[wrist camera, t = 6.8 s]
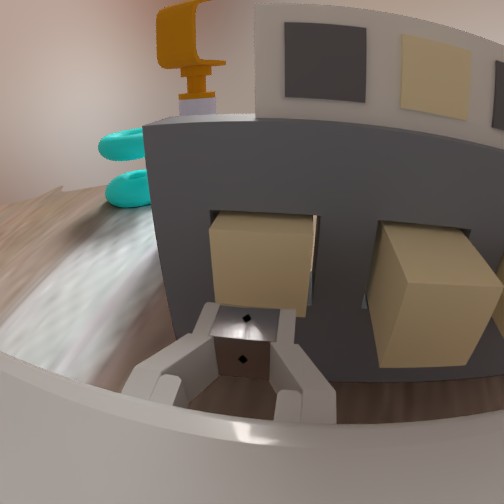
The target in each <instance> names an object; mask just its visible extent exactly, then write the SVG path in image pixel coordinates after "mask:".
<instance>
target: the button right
mask: <svg viewBox="0 0 504 504" xmlns="http://www.w3.org/2000/svg"><path fill="white" fill-rule="evenodd" d="M496 276H497V277H498V279H499V280H500V281H501V283H502V284H503V286H504V252H503V255H502V258H501V261H500V264H499V266H498V269H497V272H496ZM492 318H493V320H494V322H495V323H496V325H497V327H498V329H499V331H500V333H501V335H502V337H503V338H504V288H503V291H502V293H501V296H500V298H499V300H498V302H497V305H496V307H495V309H494V311H493V313H492Z"/></svg>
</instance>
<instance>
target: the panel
mask: <svg viewBox="0 0 504 504" xmlns="http://www.w3.org/2000/svg"><path fill="white" fill-rule="evenodd" d="M254 44H255V45H254V47H255V114H213V115H191V116H176V117H168V118H165V119H162V120H159V121H156V122H153V123H150V124H147V125H144V126H142V130H143V141H144V151H145V160H146V169H147V178H148V186H149V193H150V201H151V208H152V215H153V221H154V228H155V234H156V240H157V246H158V252H159V258H160V264H161V269H162V275H163V280H164V285H165V290H166V295H167V300H168V305H169V310H170V315H171V319H172V324H173V328H174V333H175V337H176V340H178V339H180V338H181V337H183V336H184V335H186V334H188V333H190V334H192V333H193V330H194V328H195V326H196V323H197V321H198V319H199V316H200V314H201V312H202V309H203V307H204V305H205V304H206V303H207V302H213V303H215V293H214V283H213V272H212V261H211V250H210V238H209V228H210V227H211V225H212V223H213V222H214V220H215V219H216V217H217V215H218V214H219V212H220V211H221V210H226V211H249V212H269V213H287V214H303V215H317V222H316V234H315V246H314V257H313V267H312V271H310V279H309V289H308V298H307V308H306V316H305V317H296V322H295V336H294V344H299V346H300V347H301V348H302V349H303V351H304V352H305V353H306V354H307V356H308V357H309V358H310V359H311V361H312V362H313V363H314V365H315V366H316V367H317V368H318V370H319V371H320V372H321V373H322V375H323V376H324V377H325V378H326V380H327V381H337V382H420V381H440V380H455V379H467V378H478V377H487V376H496V375H504V338H503V337H502V335H501V333H500V331H499V329H498V327H497V325H496V323H495V322H494V320H493V318H492V316H491V318H490V320H489V322H488V324H487V326H486V328H485V330H484V332H483V334H482V336H481V338H480V340H479V342H478V344H477V345H476V347H475V349H474V351H473V353H472V355H471V356H470V358H469V360H468V362H467V363H466V365H462V366H445V367H417V368H379V361H378V355H377V349H376V343H375V338H374V332H373V327H372V321H371V316H370V311H369V306H368V301H367V296H366V292H365V288H366V284H367V279H368V274H369V269H370V264H371V259H372V254H373V248H374V243H375V237H376V231H377V225H378V220H384V221H395V222H406V223H416V224H426V225H436V226H446V227H455V228H459V229H460V230H461V231H462V232H463V234H464V235H465V236H466V237H467V238H468V240H469V241H470V242H471V243H472V245H473V246H474V247H475V248H476V250H477V251H478V252H479V253H480V255H481V256H482V257H483V258H484V260H485V261H486V262H487V264H488V265H489V266H490V268H491V269H492V270H493V272H494V273H495V275H496V272H497V269H498V266H499V264H500V261H501V258H502V255H503V252H504V46H503V45H501V44H498V43H496V42H493V41H490V40H488V39H485V38H482V37H479V36H476V35H474V34H471V33H467V32H465V31H461V30H458V29H455V28H451V27H448V26H444V25H440V24H437V23H433V22H429V21H425V20H421V19H417V18H412V17H408V16H403V15H398V14H392V13H387V12H381V11H374V10H368V9H359V8H351V7H343V6H331V5H316V4H286V3H285V4H284V3H282V4H279V3H278V4H275V3H274V4H254Z"/></svg>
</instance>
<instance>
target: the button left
mask: <svg viewBox="0 0 504 504" xmlns="http://www.w3.org/2000/svg"><path fill="white" fill-rule="evenodd" d="M209 238H210V250H211V261H212V272H213V283H214V293H215V303H221V304H222V303H223V304H232V305H241V306H251V307H263V308H278V309H281V308H285V309H296V317H305V316H306V308H307V298H308V289H309V279H310V269H311V258H312V247H313V215H303V214H287V213H269V212H249V211H226V210H221V211H220V212H219V214H218V215H217V217H216V219H215V220H214V222H213V223H212V225H211V227H210V228H209Z"/></svg>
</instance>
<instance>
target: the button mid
mask: <svg viewBox="0 0 504 504" xmlns="http://www.w3.org/2000/svg"><path fill="white" fill-rule="evenodd" d="M503 288H504V286H503V284H502V283H501V281H500V280H499V279H498V277H497V276H496V275H495V273H494V272H493V270H492V269H491V268H490V266H489V265H488V264H487V262H486V261H485V260H484V258H483V257H482V256H481V255H480V253H479V252H478V251H477V250H476V248H475V247H474V246H473V245H472V243H471V242H470V241H469V240H468V238H467V237H466V236H465V235H464V234H463V232H462V231H461V230H460V229H459V228H455V227H446V226H436V225H426V224H416V223H406V222H395V221H384V220H378V225H377V231H376V237H375V243H374V248H373V254H372V259H371V264H370V269H369V274H368V279H367V284H366V288H365V292H366V296H367V301H368V306H369V311H370V316H371V321H372V327H373V332H374V338H375V343H376V349H377V355H378V361H379V368H417V367H445V366H462V365H466V363H467V362H468V360H469V358H470V356H471V355H472V353H473V351H474V349H475V347H476V345H477V344H478V342H479V340H480V338H481V336H482V334H483V332H484V330H485V328H486V326H487V324H488V322H489V320H490V318H491V316H492V313H493V311H494V309H495V307H496V305H497V302H498V300H499V298H500V296H501V293H502V291H503Z"/></svg>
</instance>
